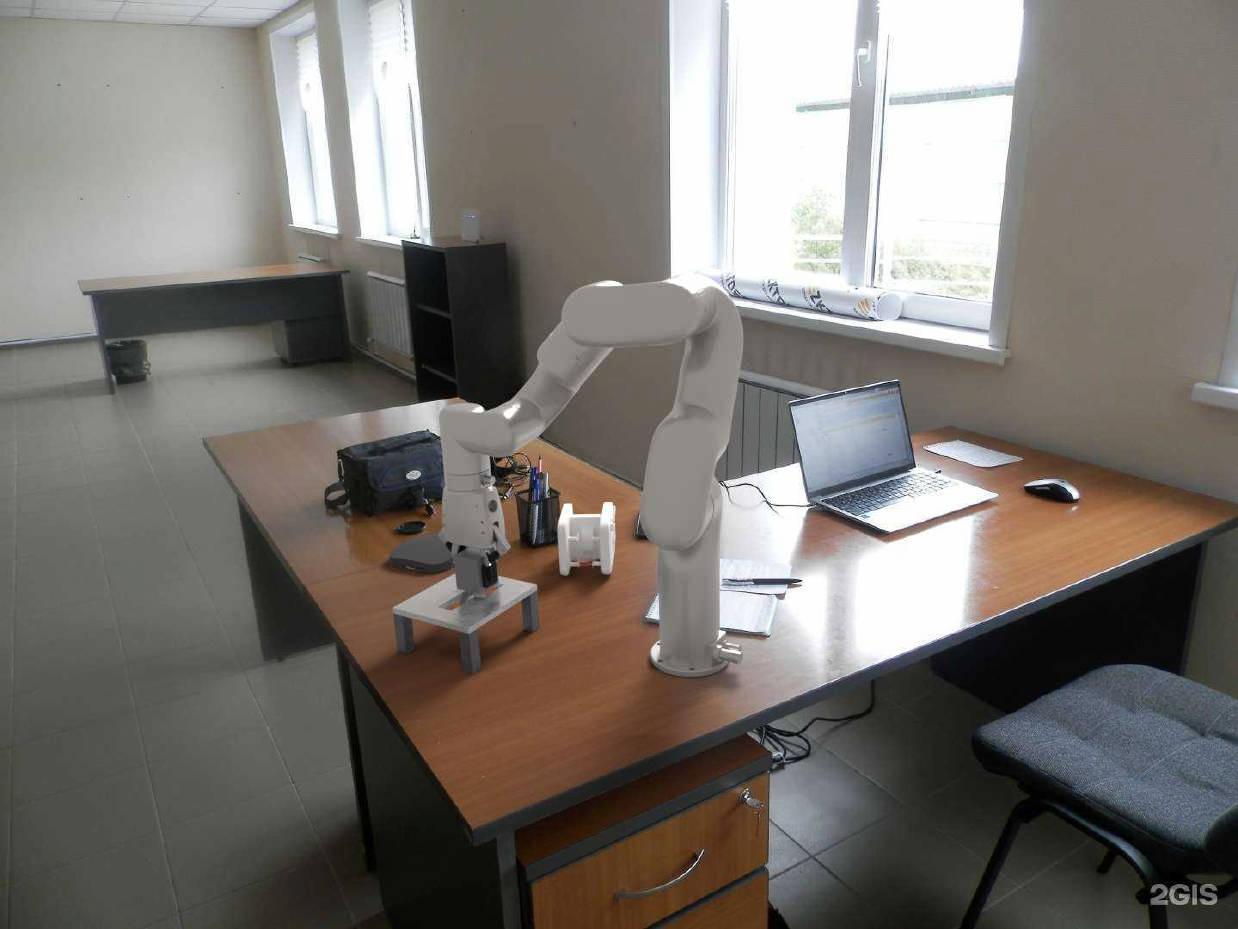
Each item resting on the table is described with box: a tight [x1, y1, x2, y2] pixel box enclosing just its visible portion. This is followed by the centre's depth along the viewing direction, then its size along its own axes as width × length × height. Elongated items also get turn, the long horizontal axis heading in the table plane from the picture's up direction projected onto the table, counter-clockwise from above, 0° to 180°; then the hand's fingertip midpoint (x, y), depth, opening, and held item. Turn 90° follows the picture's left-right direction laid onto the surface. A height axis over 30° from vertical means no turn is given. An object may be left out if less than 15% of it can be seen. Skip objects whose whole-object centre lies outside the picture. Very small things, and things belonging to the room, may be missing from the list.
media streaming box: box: [389, 533, 469, 574], centre depth 187 cm, size 15×15×3 cm
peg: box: [454, 547, 499, 602], centre depth 151 cm, size 5×5×10 cm
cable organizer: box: [557, 501, 617, 577], centre depth 179 cm, size 15×11×12 cm
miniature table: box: [392, 573, 541, 675], centre depth 151 cm, size 16×18×8 cm
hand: (477, 580), depth 151 cm, fingers closed on peg, 5 cm apart
